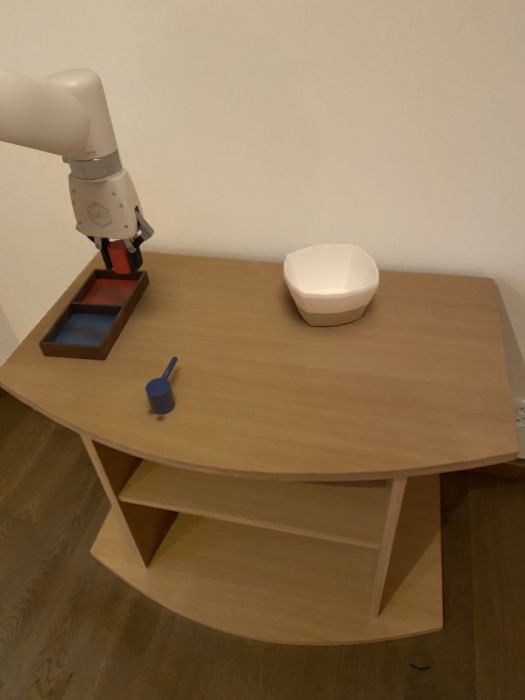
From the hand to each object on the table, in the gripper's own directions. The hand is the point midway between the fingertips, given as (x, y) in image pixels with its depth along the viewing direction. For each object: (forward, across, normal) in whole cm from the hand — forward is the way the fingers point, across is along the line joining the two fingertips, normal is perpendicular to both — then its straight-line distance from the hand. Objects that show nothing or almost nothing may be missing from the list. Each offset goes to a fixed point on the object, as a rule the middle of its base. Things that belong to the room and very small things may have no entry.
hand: (124, 266), depth 88 cm
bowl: (+15, +34, +15) cm, 40 cm away
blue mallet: (+15, +11, -14) cm, 24 cm away
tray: (+15, -11, +3) cm, 19 cm away
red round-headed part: (0, 0, +3) cm, 3 cm away
